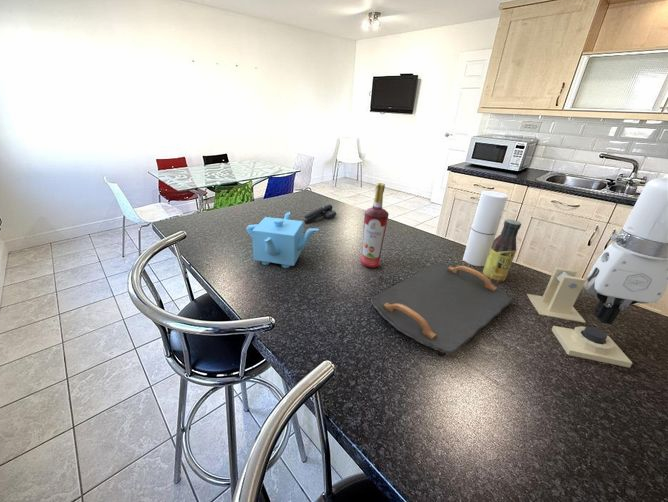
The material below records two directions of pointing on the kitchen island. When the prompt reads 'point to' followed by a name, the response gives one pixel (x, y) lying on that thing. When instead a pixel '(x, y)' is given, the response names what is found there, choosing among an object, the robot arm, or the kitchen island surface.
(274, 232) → the teakettle
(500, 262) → the sauce bottle
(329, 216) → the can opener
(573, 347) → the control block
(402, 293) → the serving tray
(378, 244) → the liquor
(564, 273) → the red tipped lever
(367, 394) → the kitchen island surface
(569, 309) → the cream upright bracket stand
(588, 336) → the dark round button
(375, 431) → the kitchen island surface
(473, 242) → the cylindrical container
